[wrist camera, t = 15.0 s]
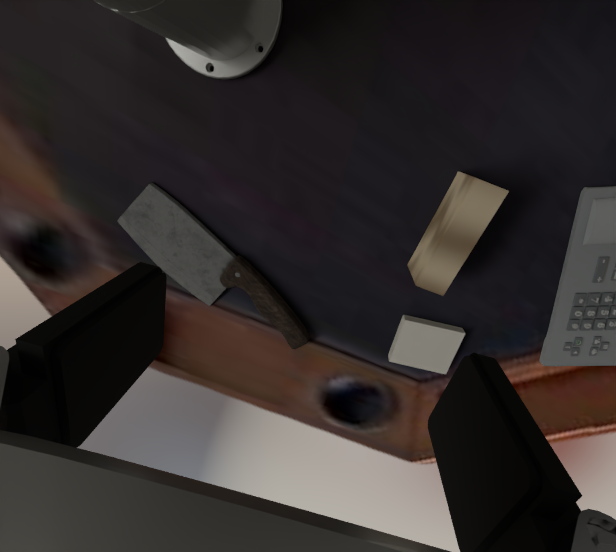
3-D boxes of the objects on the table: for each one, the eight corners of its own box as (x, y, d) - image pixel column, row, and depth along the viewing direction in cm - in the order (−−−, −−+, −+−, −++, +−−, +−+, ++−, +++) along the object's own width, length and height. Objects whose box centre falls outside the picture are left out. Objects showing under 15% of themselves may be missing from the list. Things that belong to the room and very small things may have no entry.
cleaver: (323, 323, 46) (321, 332, 44) (278, 361, 49) (275, 370, 47) (149, 172, 40) (138, 174, 38) (114, 228, 44) (103, 232, 42)
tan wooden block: (458, 171, 35) (477, 178, 30) (484, 181, 35) (509, 191, 30) (407, 264, 40) (415, 285, 35) (430, 273, 40) (443, 295, 35)
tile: (404, 319, 42) (389, 361, 45) (465, 333, 42) (445, 374, 45) (402, 313, 43) (387, 353, 46) (461, 326, 43) (442, 366, 46)
